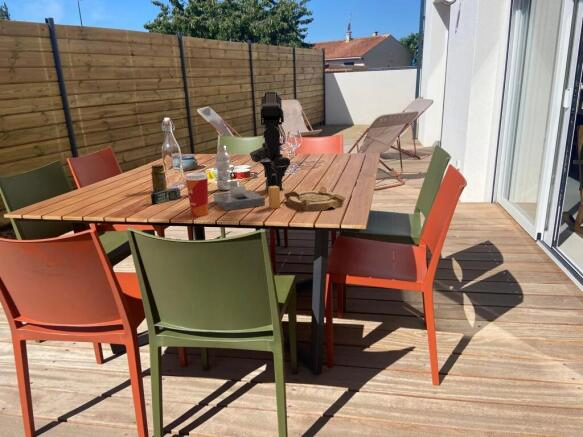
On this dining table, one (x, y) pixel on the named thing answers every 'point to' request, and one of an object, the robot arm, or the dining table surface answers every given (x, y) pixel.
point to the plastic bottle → (223, 168)
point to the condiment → (158, 178)
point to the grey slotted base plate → (238, 197)
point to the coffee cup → (198, 193)
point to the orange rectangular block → (274, 197)
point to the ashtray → (314, 200)
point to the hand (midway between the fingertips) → (273, 182)
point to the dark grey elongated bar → (165, 196)
